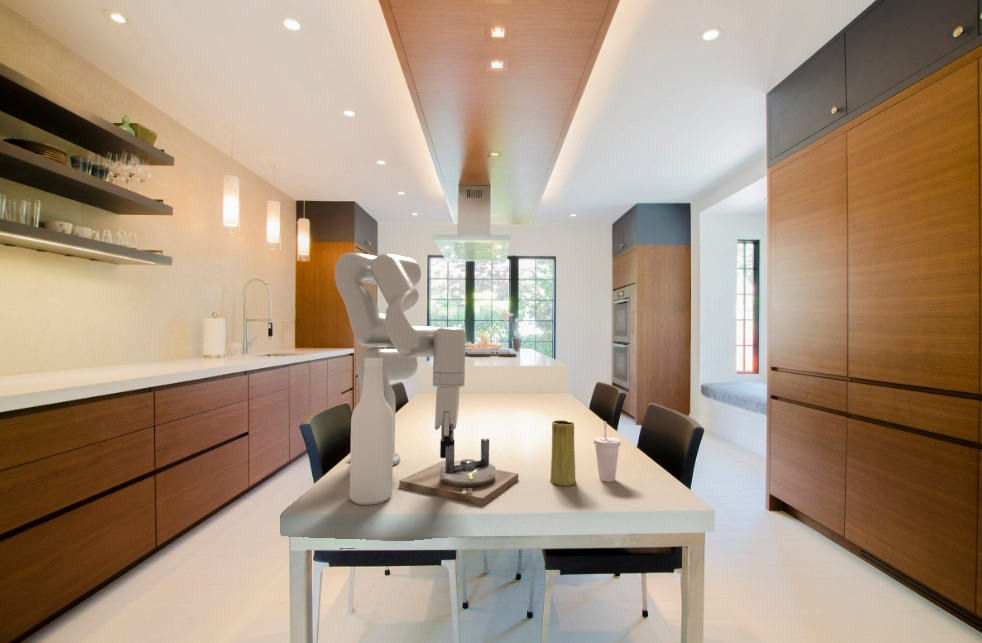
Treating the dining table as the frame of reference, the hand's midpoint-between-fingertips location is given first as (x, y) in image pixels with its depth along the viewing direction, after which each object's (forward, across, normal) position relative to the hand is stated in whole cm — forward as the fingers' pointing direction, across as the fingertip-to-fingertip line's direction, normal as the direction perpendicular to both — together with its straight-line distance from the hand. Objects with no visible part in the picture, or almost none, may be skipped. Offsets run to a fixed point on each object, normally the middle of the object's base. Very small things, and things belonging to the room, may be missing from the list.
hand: (447, 457), depth 99 cm
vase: (+6, -1, +28) cm, 29 cm away
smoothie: (+6, -3, +39) cm, 40 cm away
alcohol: (+7, +8, -16) cm, 19 cm away
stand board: (+6, 0, +3) cm, 7 cm away
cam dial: (+4, +1, +5) cm, 7 cm away
